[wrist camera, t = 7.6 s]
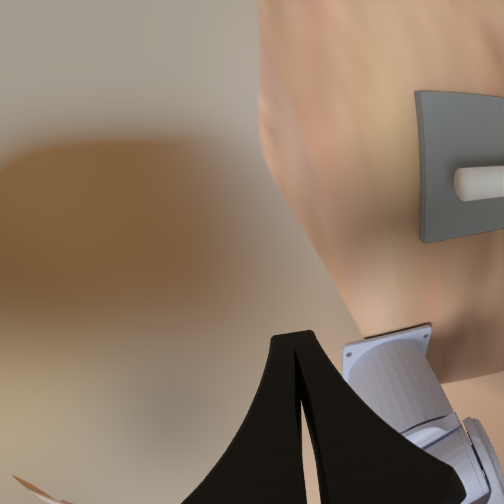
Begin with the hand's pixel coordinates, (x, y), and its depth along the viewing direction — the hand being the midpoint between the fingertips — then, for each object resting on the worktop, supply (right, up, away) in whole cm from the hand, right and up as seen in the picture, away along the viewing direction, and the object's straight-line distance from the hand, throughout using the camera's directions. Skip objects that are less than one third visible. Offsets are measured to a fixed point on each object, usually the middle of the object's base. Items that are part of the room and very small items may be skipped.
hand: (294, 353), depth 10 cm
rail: (+17, +10, +7) cm, 21 cm away
